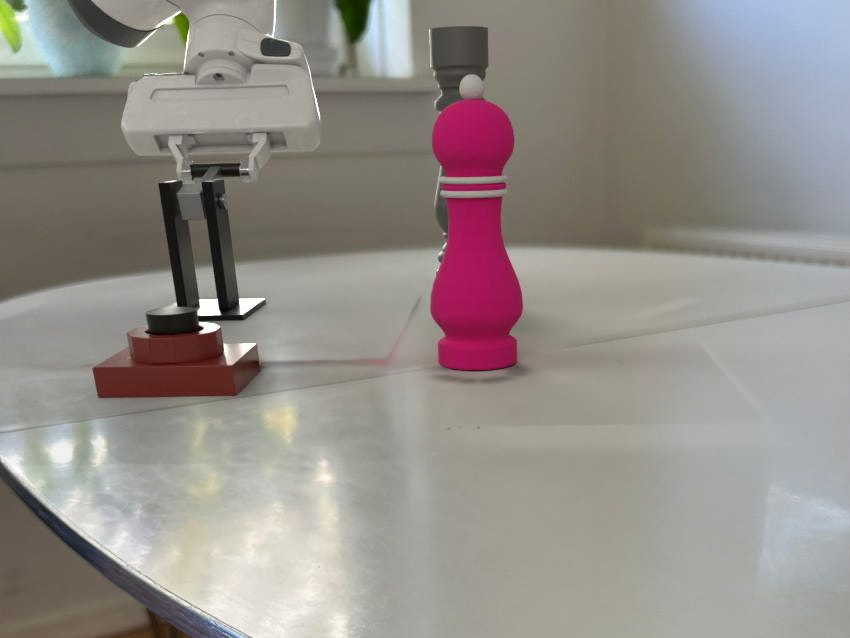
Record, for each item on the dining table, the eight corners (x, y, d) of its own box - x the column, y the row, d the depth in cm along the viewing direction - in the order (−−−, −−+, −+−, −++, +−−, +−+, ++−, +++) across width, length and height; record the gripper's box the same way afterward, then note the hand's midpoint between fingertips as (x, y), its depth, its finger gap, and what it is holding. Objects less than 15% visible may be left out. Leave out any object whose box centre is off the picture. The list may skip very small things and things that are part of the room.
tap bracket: (181, 315, 103) (160, 179, 97) (267, 313, 103) (251, 177, 97) (150, 332, 94) (125, 184, 89) (244, 331, 94) (225, 182, 88)
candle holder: (459, 297, 110) (451, 33, 98) (506, 301, 107) (503, 28, 95) (425, 305, 105) (412, 29, 94) (472, 309, 102) (465, 24, 91)
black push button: (143, 340, 71) (138, 315, 71) (158, 331, 75) (154, 307, 74) (192, 339, 71) (188, 314, 71) (206, 330, 75) (202, 306, 74)
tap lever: (197, 181, 103) (192, 156, 101) (245, 180, 102) (241, 155, 101) (167, 220, 94) (161, 193, 92) (220, 219, 93) (215, 192, 92)
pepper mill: (435, 354, 83) (424, 78, 73) (522, 352, 82) (522, 75, 73) (429, 373, 76) (415, 73, 67) (523, 371, 76) (523, 70, 67)
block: (97, 398, 71) (86, 341, 69) (134, 374, 78) (125, 321, 77) (236, 396, 71) (228, 338, 69) (260, 371, 78) (254, 318, 76)
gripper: (119, 50, 103) (104, 157, 98) (316, 44, 102) (309, 151, 98) (141, 100, 109) (127, 203, 104) (327, 95, 108) (321, 198, 104)
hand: (217, 178), depth 101 cm, fingers closed on tap lever, 5 cm apart
